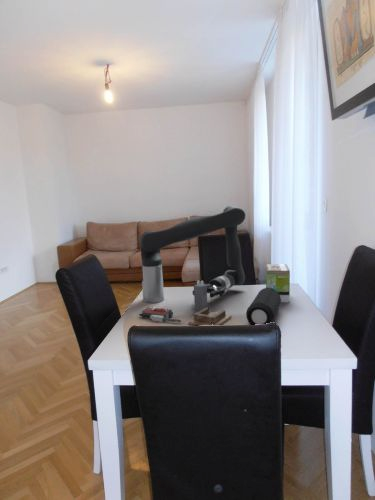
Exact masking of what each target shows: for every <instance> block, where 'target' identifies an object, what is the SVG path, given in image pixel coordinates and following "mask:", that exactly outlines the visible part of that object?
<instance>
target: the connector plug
mask: <svg viewBox="0 0 375 500" xmlns="http://www.w3.org/2000/svg"><path fill="white" fill-rule="evenodd" d="M207 285H208V283H204V280H201V281H200V280H196V284H195V285H193V290H194V295H193V298H194V311H196V312H199V311H201V310H202V309H204V308H209V307H208V306H209V305H208V293H207Z"/></svg>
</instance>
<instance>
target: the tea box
mask: <svg viewBox="0 0 375 500" xmlns="http://www.w3.org/2000/svg"><path fill="white" fill-rule="evenodd" d="M290 278H291V270H290V268H289V267H288V264H287V263H275V264H274V263H267V264H266V265H265V288H272V289H275V290H276V291H277V292H278V293H279V295H280V297H281V303H290V297H291V296H290V295H291V292H290V291H291V288H290V287H291V286H290V285H291V283H290V282H291V281H290V280H291V279H290Z"/></svg>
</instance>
